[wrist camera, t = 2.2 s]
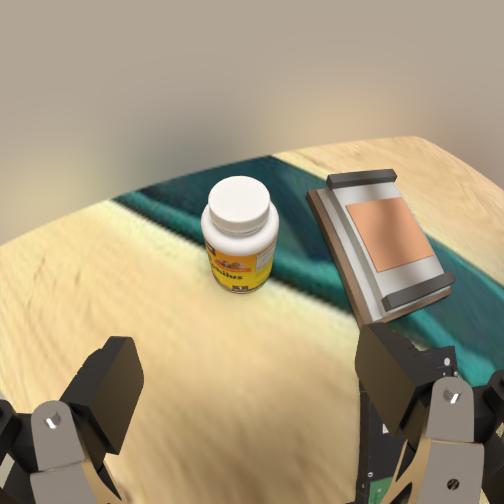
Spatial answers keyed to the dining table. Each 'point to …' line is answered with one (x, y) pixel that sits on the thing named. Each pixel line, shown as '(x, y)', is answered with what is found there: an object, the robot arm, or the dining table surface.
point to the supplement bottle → (240, 233)
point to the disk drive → (387, 437)
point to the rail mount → (378, 246)
